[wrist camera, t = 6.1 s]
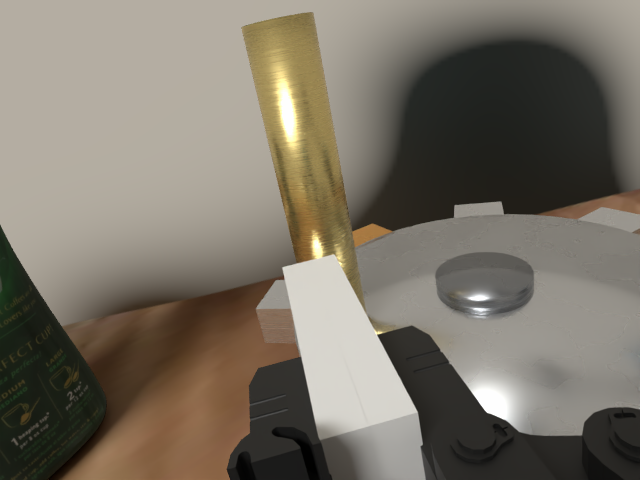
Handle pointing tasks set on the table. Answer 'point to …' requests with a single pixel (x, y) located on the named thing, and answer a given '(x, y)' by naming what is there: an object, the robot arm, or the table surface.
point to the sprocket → (457, 265)
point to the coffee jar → (39, 381)
